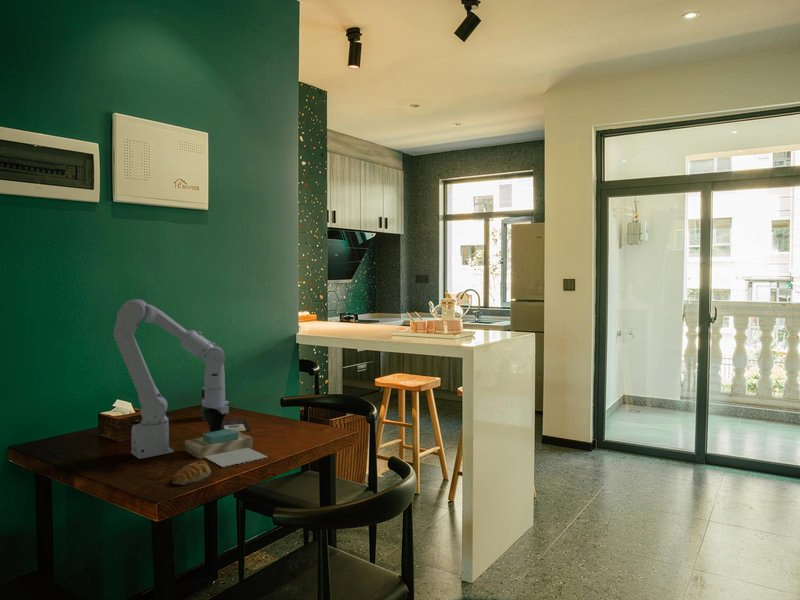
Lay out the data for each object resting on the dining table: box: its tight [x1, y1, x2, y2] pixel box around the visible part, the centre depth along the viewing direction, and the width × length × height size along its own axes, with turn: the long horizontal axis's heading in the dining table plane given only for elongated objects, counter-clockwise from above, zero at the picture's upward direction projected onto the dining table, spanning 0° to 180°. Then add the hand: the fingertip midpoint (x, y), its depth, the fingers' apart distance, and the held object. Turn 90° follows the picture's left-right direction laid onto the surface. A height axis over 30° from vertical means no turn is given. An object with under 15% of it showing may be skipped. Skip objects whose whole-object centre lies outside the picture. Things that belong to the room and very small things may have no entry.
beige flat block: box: [184, 431, 254, 460], centre depth 163 cm, size 16×10×3 cm, turn 131°
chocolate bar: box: [221, 417, 251, 432], centre depth 191 cm, size 9×1×18 cm
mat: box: [203, 448, 269, 468], centre depth 155 cm, size 13×12×1 cm
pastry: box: [171, 460, 212, 486], centre depth 138 cm, size 9×7×4 cm
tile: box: [202, 429, 239, 445], centre depth 162 cm, size 8×6×2 cm
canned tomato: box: [201, 386, 209, 421], centre depth 203 cm, size 8×8×11 cm
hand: (215, 434), depth 165 cm, fingers closed
